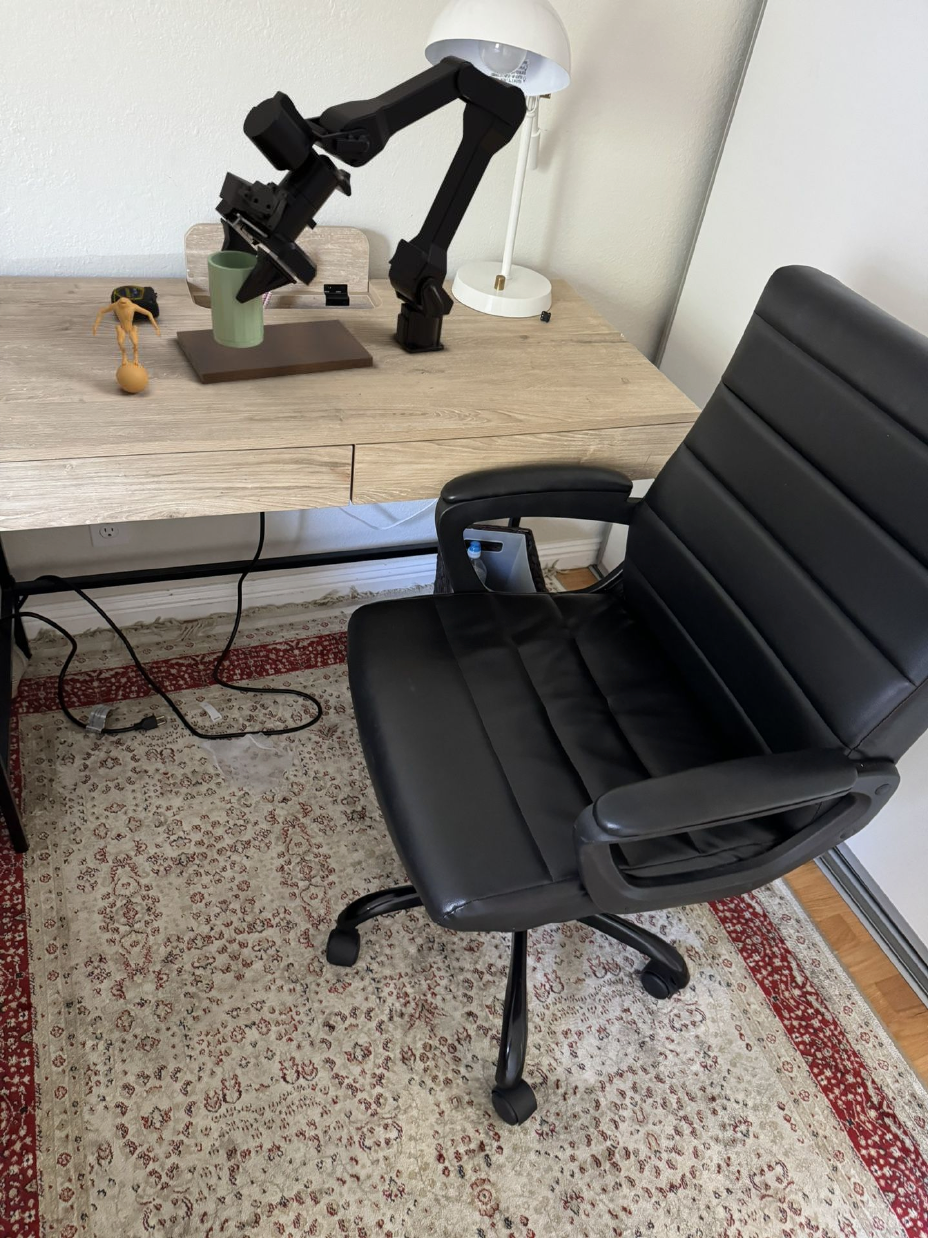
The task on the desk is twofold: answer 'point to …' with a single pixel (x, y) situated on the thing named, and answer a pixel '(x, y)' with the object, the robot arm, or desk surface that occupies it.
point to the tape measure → (138, 299)
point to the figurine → (128, 373)
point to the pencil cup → (233, 300)
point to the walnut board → (276, 352)
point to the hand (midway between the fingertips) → (226, 290)
